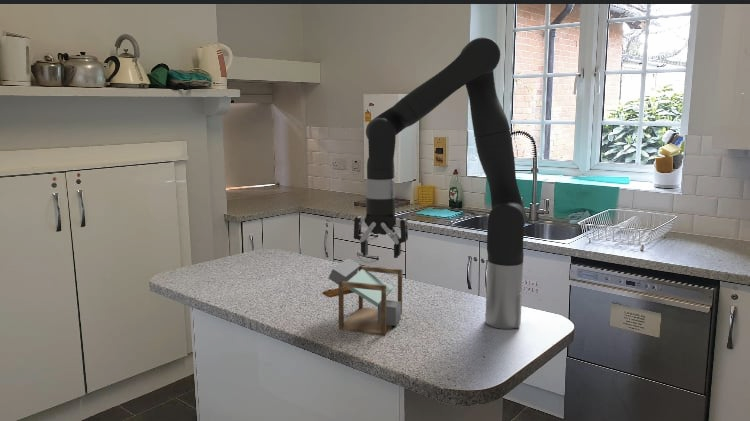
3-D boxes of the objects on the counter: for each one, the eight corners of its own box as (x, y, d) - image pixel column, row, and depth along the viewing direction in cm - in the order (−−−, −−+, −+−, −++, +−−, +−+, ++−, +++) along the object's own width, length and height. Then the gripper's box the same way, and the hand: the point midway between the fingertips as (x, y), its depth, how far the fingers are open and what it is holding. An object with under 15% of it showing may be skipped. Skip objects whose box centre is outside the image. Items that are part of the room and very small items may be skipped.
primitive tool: (328, 298, 177) (328, 287, 177) (321, 293, 182) (320, 283, 181) (382, 289, 187) (382, 278, 187) (373, 284, 192) (373, 274, 191)
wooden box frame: (401, 313, 163) (402, 269, 161) (384, 335, 148) (385, 286, 146) (359, 309, 167) (359, 265, 165) (338, 329, 152) (338, 281, 149)
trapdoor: (390, 293, 162) (395, 284, 161) (375, 309, 149) (380, 300, 148) (345, 265, 165) (349, 256, 164) (326, 279, 152) (331, 269, 151)
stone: (383, 317, 159) (400, 319, 158) (377, 323, 154) (395, 325, 153) (383, 299, 158) (400, 301, 157) (377, 305, 154) (395, 307, 152)
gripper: (410, 194, 152) (410, 254, 155) (359, 192, 156) (359, 251, 159) (403, 199, 145) (403, 261, 148) (349, 196, 149) (350, 257, 152)
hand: (380, 256), depth 153 cm, fingers open, 8 cm apart
